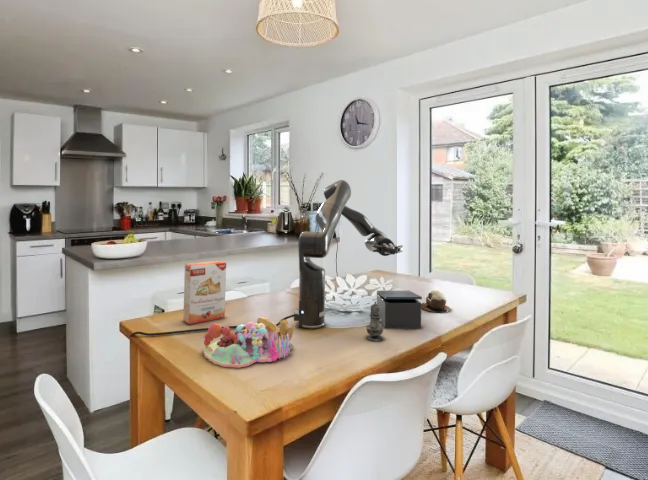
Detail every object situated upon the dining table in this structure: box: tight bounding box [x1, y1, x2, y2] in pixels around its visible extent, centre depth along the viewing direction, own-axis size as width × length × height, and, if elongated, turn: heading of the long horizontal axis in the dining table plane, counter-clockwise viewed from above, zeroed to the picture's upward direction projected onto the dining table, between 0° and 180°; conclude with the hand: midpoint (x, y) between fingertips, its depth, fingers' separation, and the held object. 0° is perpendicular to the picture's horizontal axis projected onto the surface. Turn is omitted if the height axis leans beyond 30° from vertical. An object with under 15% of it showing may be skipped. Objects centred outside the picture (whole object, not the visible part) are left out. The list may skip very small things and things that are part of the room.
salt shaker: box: [365, 301, 385, 342], centre depth 134 cm, size 6×6×12 cm
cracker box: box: [182, 260, 227, 325], centre depth 151 cm, size 14×6×21 cm, turn 129°
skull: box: [421, 289, 451, 314], centre depth 170 cm, size 12×10×10 cm
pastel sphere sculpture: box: [203, 316, 296, 369], centre depth 122 cm, size 25×24×9 cm
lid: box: [376, 290, 423, 300], centre depth 151 cm, size 16×13×1 cm
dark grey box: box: [376, 292, 422, 329], centre depth 152 cm, size 15×13×9 cm
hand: (393, 251), depth 160 cm, fingers closed
